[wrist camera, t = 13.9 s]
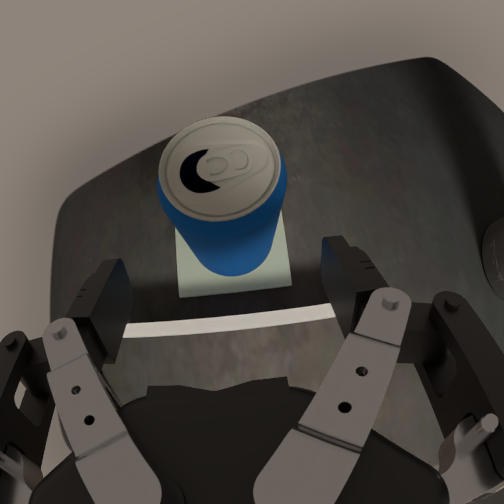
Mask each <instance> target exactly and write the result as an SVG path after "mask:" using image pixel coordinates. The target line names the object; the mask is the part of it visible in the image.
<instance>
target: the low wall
mask: <svg viewBox="0 0 504 504" xmlns="http://www.w3.org/2000/svg"><path fill="white" fill-rule="evenodd" d="M332 317H336V316H335V313H334V311H333V309H332V306H331V304H330V303H328V304H321V305H314V306H307V307H300V308H292V309H285V310H277V311H269V312H260V313H252V314H243V315H233V316H223V317H213V318H202V319H190V320H178V321H164V322H149V323H131V324H127V325H126V328H125V331H124V334H123V337H122V338H134V337H155V336H172V335H187V334H200V333H211V332H222V331H233V330H242V329H251V328H260V327H268V326H276V325H284V324H292V323H299V322H306V321H313V320H319V319H326V318H332Z"/></svg>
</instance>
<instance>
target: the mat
mask: <svg viewBox="0 0 504 504" xmlns="http://www.w3.org/2000/svg"><path fill="white" fill-rule="evenodd" d="M175 233H176V255H177V272H178V287H179V297H180V298H187V297H198V296H208V295H218V294H228V293H237V292H246V291H255V290H264V289H272V288H281V287H289V286H292V280H291V273H290V266H289V259H288V252H287V245H286V239H285V232H284V226H283V219H282V213H281V212H280V216H279V220H278V224H277V228H276V231H275V235H274V239H273V243H272V247H271V250H270V252H269V255H268V256H267V258H266V259H265V261H264V262H263V263H262V264H261V265H260V266H259V267H258V268H256V269H255V270H253V271H252V272H250V273H247V274H245V275H241V276H234V277H229V276H222V275H218V274H216V273H213V272H211V271H210V270H208V269H207V268H205V267H204V266H203V265H202V264H201V263H200V262H199V260H198V259H197V257H196V256H195V255H194V253H193V252H192V250H191V249H190V248H189V246H188V245H187V243H186V242H185V240H184V239H183V238H182V236H181V235H180V233H179V232H178V230H177V229H176V227H175Z"/></svg>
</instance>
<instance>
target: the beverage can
mask: <svg viewBox="0 0 504 504" xmlns="http://www.w3.org/2000/svg"><path fill="white" fill-rule="evenodd" d="M286 186H287V173H286V167H285V164H284V161H283V158H282V156H281V154H280V152H279V151H278V149H277V146H276V144H275V142H274V141H273V140H272V138H271V137H270V136H269V135H268V134H267V132H266V131H264V130H263V129H262V128H261V127H259V126H257V125H256V124H254V123H252V122H250V121H247V120H244V119H241V118H236V117H229V116H218V117H211V118H206V119H203V120H200V121H197V122H195V123H192V124H190V125H189V126H187V127H185V128H184V129H182V130H181V131H180V132H178V133H177V134H176V135H175V136H174V137H173V138H172V139H171V141H170V142H169V143H168V145H167V146H166V148H165V150H164V152H163V154H162V156H161V159H160V164H159V173H158V179H157V189H158V196H159V200H160V203H161V205H162V208H163V210H164V211H165V213H166V214H167V216H168V217H169V219H170V220H171V222H172V223H173V225H174V226H175V227H176V229H177V230H178V232H179V233H180V235H181V236H182V238H183V239H184V240H185V242H186V243H187V245H188V246H189V248H190V249H191V250H192V252H193V253H194V255H195V256H196V257H197V259H198V260H199V262H200V263H201V264H202V265H203V266H204V267H205V268H207V269H208V270H210V271H211V272H213V273H216V274H218V275H222V276H229V277H234V276H241V275H245V274H247V273H250V272H252V271H253V270H255V269H256V268H258V267H259V266H260V265H261V264H262V263H263V262H264V261H265V259H266V258H267V256H268V255H269V252H270V250H271V247H272V243H273V239H274V235H275V231H276V228H277V224H278V220H279V216H280V212H281V208H282V204H283V200H284V196H285V192H286Z"/></svg>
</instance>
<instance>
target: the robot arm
mask: <svg viewBox="0 0 504 504" xmlns="http://www.w3.org/2000/svg"><path fill="white" fill-rule="evenodd" d="M482 258H483V265H484V269H485V273H486V276H487V278H488V281H489V283H490V285H491V286H492V288H493V290H494V291H495V292H496V293H497V295H499V296H500V297H501V298H502V299H504V217H502V218H501V219H499V220H497V221H495V222H493V223H492V224H491V225H490V226H489V227H488V228H487V230H486V232H485V234H484V238H483V244H482ZM321 281H322V285H323V288H324V290H325V292H326V294H327V297H328V299H329V302H330V304H331V306H332V309H333V311H334V313H335V316H336V318H337V321H338V323H339V325H340V328H341V330H342V333H343V335H344V338H345V342H344V344H343V346H342V348H341V350H340V352H339V353H338V355H337V357H336V359H335V361H334V363H333V365H332V366H331V368H330V370H329V372H328V374H327V375H326V377H325V379H324V381H323V383H322V384H321V386H320V388H319V389H318V391H317V393H316V392H313V391H311V390H307V389H304V388H299V387H291V386H289V385H288V380H287V376H286V377H279V378H271V379H262V380H253V381H249V382H246V383H242V384H239V385H236V386H232V387H229V388H226V389H222V390H218V391H209V390H203V389H197V388H191V387H186V386H181V385H176V386H148V388H147V394H146V396H144V397H141V398H138V399H135V400H133V401H131V402H129V403H127V404H125V405H122V404H121V402H120V400H119V399H118V397H117V395H116V393H115V392H114V390H113V388H112V386H111V385H110V383H109V381H108V379H107V377H106V375H105V374H104V372H103V370H102V366H103V364H115V361H116V357H117V354H118V351H119V347H120V344H121V341H122V337H123V334H124V331H125V328H126V325H127V322H128V319H129V316H130V313H131V310H132V307H133V303H134V294H133V289H132V286H131V284H130V281H129V278H128V275H127V272H126V269H125V266H124V263H123V261H122V260H121V259H112V260H104V261H102V263H101V265H100V266H99V268H98V270H97V272H96V273H93V274H92V275H91V276H90V277H89V278H88V279H87V280H86V281H85V282H84V284H83V286H82V288H81V291H79V293H78V295H77V298H75V300H74V302H73V304H72V305H71V307H70V309H69V311H68V313H67V315H66V317H65V318H61V319H58V320H56V321H54V322H52V323H51V324H50V325H49V326H48V327H47V328H46V329H45V330H44V333H43V337H41V338H37V339H33V340H30V341H29V340H28V339H27V337H26V335H25V334H24V333H23V332H22V331H14V332H12V333H10V334H8V335H7V336H5V337H4V338H3V339H2V341H1V342H0V504H465V503H467V502H469V501H480V500H483V499H484V498H486V497H488V496H490V495H492V494H493V493H495V492H497V491H499V490H500V489H502V488H503V487H504V354H503V352H502V351H501V349H500V348H499V346H498V345H497V343H496V342H495V340H494V339H493V337H492V336H491V334H490V333H489V331H488V330H487V328H486V327H485V325H484V324H483V323H482V321H481V320H480V318H479V317H478V316H477V314H476V313H475V311H474V310H473V309H472V307H471V306H470V305H469V303H468V302H467V301H466V300H465V299H464V298H463V297H462V296H461V295H459V294H457V293H454V292H449V291H443V292H439V293H438V294H436V295H435V297H434V299H433V302H432V304H429V303H414V302H411V300H410V298H409V297H408V295H407V294H405V293H404V292H402V291H401V290H398V289H395V288H390V287H389V286H388V284H387V283H386V281H385V280H384V278H383V277H382V275H381V274H380V273H379V271H378V270H377V268H375V265H374V264H373V263H372V262H371V260H370V258H369V257H368V256H367V254H366V253H365V252H364V251H362V250H360V249H359V248H357V247H350V246H349V245H348V243H347V242H346V240H345V239H344V237H343V236H332V237H324V238H323V240H322V255H321ZM450 352H451V353H450ZM451 354H452V355H451ZM452 356H453V357H452ZM453 358H454V359H453ZM454 360H455V361H454ZM455 362H456V363H455ZM396 363H414V365H415V368H416V370H417V372H418V374H419V377H420V379H421V381H422V384H423V386H424V388H425V391H426V393H427V395H428V398H429V400H430V403H431V405H432V408H433V410H434V413H435V415H436V418H437V420H438V423H439V426H440V428H441V431H442V434H443V436H444V439H445V440H444V441H443V442H442V443H441V445H440V448H439V452H438V457H439V471H437V470H436V469H435V468H433V467H432V466H430V465H429V464H427V463H425V462H424V461H422V460H420V459H419V458H417V457H415V456H414V455H412V454H411V453H409V452H407V451H406V450H404V449H402V448H401V447H399V446H398V445H396V444H395V443H393V442H391V441H390V440H388V439H387V438H385V437H384V436H382V435H380V434H379V433H377V432H376V431H374V430H373V429H371V428H372V426H373V423H374V421H375V418H376V416H377V413H378V411H379V408H380V406H381V403H382V401H383V398H384V396H385V393H386V390H387V387H388V385H389V382H390V379H391V376H392V373H393V370H394V367H395V364H396ZM20 381H21V382H22V384H23V385H24V386H25V387H26V391H25V394H24V397H23V399H22V402H21V406H20V408H19V409H18V408H17V407H16V405H15V401H14V395H15V392H16V389H17V387H18V384H19V382H20ZM55 405H56V407H57V410H58V413H59V415H60V418H61V421H62V423H63V426H64V429H65V431H66V434H67V436H68V439H69V441H70V443H71V446H72V448H73V450H74V451H73V452H72V453H71V454H70V455H68V456H67V457H66V458H65V459H64V460H63V461H62V462H61V463H60V464H59V465H58V466H56V467H55V468H54V469H53V470H52V471H51V472H50V473H49V474H48V475H47V476H46V477H44V478H43V475H42V472H41V465H42V459H43V455H44V450H45V445H46V441H47V436H48V432H49V428H50V424H51V420H52V416H53V412H54V409H55Z"/></svg>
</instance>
